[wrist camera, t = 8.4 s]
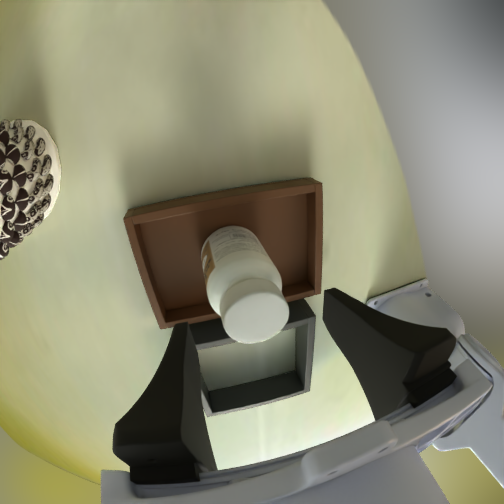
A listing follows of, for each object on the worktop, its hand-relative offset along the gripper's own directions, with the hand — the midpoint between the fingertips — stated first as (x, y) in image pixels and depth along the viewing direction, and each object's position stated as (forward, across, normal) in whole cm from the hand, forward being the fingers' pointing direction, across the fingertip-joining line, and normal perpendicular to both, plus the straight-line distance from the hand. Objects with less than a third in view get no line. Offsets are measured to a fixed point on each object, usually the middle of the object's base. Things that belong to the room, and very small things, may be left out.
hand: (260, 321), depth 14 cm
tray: (+8, 0, 0) cm, 8 cm away
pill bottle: (+8, 0, 0) cm, 8 cm away
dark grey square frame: (+8, 0, +11) cm, 14 cm away
